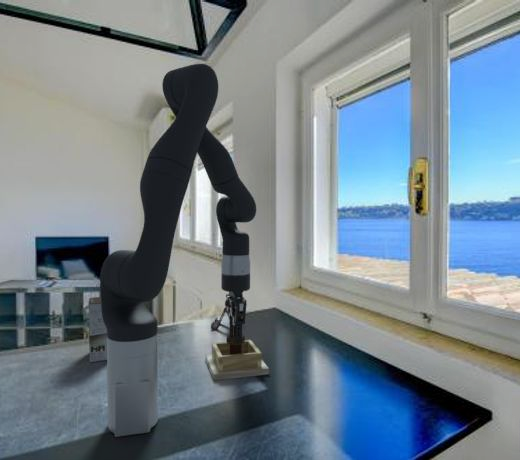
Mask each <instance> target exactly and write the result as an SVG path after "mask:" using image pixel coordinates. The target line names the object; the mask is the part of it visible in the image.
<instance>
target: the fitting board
mask: <svg viewBox="0 0 520 460" xmlns="http://www.w3.org/2000/svg"><path fill="white" fill-rule="evenodd" d="M241 348H242V353H241V354H233V355H230V344H228V343H227V342H226V341H223V342H221V341H220V342H211V353H207V354H206V353H205V361H206V364H207V366H208V369H209V371H210V372H209V373H210V375H211V377H212V381H221V380H230V379H237V378H238V379H239V378H247V377H256V376H265V375H270V368H269V366H268V365H267V364H266V363H265V361H264V360H263V358H262V356H263V355H262V351H261V350H260V349H259V348H258V347H257V346H256V345H255V343H254V342H253V341H252V340H251V339H245V341H244V343H243V344H242V347H241Z"/></svg>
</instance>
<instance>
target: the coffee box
mask: <svg viewBox="0 0 520 460" xmlns="http://www.w3.org/2000/svg"><path fill="white" fill-rule="evenodd" d="M88 344H89V345H88V347H89V348H88V350H89V363H95V362H100V361H107V329H106V326H105V324H104V322H103V318H102V308H101V296H97V297H96V296H95V297H89V300H88Z"/></svg>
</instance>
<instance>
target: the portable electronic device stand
mask: <svg viewBox="0 0 520 460" xmlns="http://www.w3.org/2000/svg"><path fill="white" fill-rule="evenodd" d="M225 314H227V306H225V307H224V308H223V311H222V313H221V315H220V318H218V317H215V319H214V321H213V322H212V323H211V325H210V329H211V330H212V331H216V330H217V329H218V327H219V326H220V324H221V323H222V321H223V318H224V317H225Z"/></svg>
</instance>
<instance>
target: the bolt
mask: <svg viewBox="0 0 520 460" xmlns="http://www.w3.org/2000/svg"><path fill="white" fill-rule="evenodd" d="M243 303H244V301H243ZM245 303H246V305H247V300H246V299H245ZM231 305H232V308H234V302H233V301H232V302H231ZM231 305H230V301H229V300H228V299H225V301H224V306H225V307H226V306H227V307H229V312H230V307H231ZM247 306H248V305H247ZM234 313H235V311H234ZM238 320H240V317H238ZM245 340H246V336H245V334H243V333H242V339H240V340H234V338H233V317H232V316H231V312H230V332H229V334H227V336H226V341H225V342H227V343H228V344H230V355H233V354H241V353H242V348H241V347H242V344H243V343H244V341H245Z"/></svg>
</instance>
